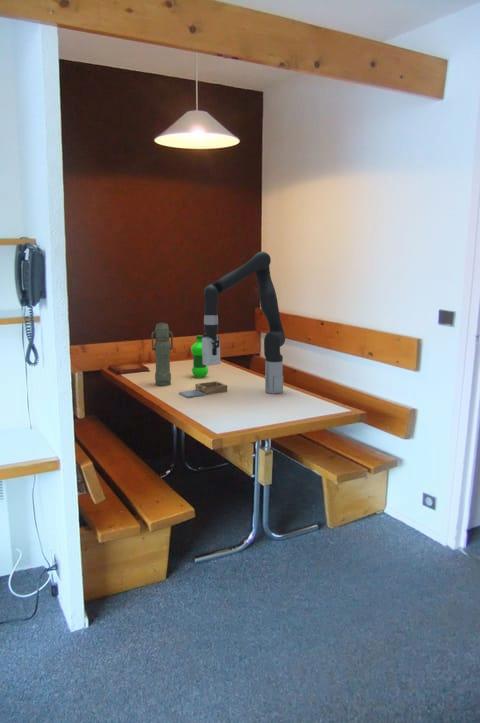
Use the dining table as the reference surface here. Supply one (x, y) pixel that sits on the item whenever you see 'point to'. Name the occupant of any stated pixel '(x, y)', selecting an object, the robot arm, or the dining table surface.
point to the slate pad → (191, 393)
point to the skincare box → (209, 352)
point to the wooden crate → (211, 387)
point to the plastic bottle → (198, 359)
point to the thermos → (162, 354)
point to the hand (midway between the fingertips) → (211, 354)
